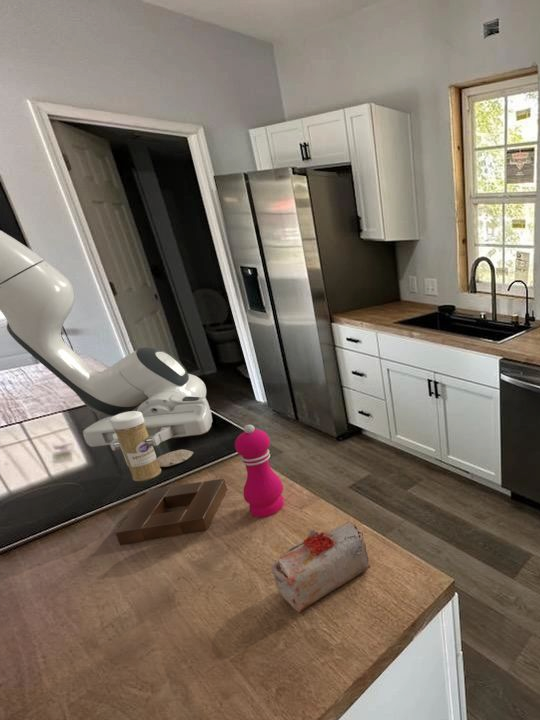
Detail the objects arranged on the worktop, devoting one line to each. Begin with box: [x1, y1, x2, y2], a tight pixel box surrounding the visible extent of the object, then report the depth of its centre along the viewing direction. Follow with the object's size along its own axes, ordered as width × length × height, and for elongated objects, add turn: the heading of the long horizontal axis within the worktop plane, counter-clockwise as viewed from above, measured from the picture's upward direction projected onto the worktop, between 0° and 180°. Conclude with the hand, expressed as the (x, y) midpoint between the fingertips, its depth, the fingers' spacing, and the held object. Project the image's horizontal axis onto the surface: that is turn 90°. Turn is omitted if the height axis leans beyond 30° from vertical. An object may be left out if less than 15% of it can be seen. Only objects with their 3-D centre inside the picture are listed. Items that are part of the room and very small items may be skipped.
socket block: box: [115, 478, 228, 546], centre depth 85 cm, size 14×14×3 cm
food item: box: [270, 521, 371, 613], centre depth 69 cm, size 14×8×10 cm, turn 138°
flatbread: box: [156, 449, 194, 468], centre depth 104 cm, size 8×8×1 cm
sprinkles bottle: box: [110, 410, 162, 482], centre depth 80 cm, size 5×5×14 cm
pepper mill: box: [234, 424, 285, 518], centre depth 85 cm, size 7×7×20 cm
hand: (133, 444), depth 79 cm, fingers closed on sprinkles bottle, 4 cm apart
